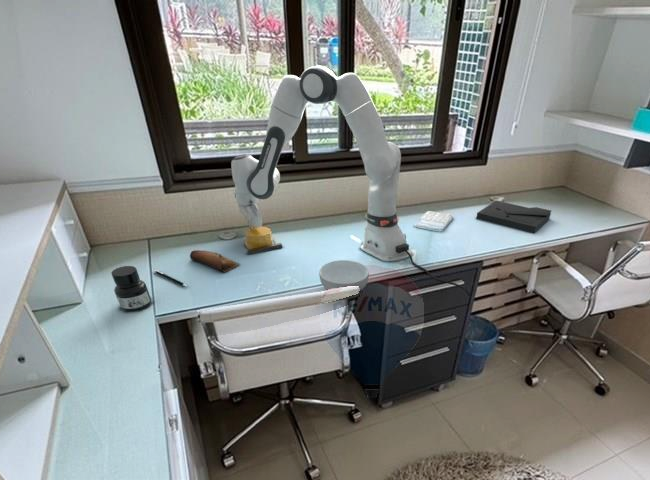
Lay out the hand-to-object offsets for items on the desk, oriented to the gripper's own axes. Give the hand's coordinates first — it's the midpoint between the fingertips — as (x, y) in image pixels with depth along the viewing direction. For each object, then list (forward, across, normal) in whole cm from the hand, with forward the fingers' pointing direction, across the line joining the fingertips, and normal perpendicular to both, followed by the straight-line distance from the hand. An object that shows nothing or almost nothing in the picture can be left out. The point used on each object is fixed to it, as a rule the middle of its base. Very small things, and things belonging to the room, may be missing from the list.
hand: (253, 230), depth 172 cm
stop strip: (+3, -15, 0) cm, 15 cm away
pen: (+3, -23, +37) cm, 44 cm away
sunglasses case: (+3, -17, +20) cm, 27 cm away
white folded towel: (+3, -22, -80) cm, 83 cm away
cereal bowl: (+3, -58, -14) cm, 59 cm away
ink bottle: (+3, -35, +49) cm, 60 cm away
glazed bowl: (+3, -8, 0) cm, 9 cm away
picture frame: (+4, -36, -118) cm, 124 cm away
